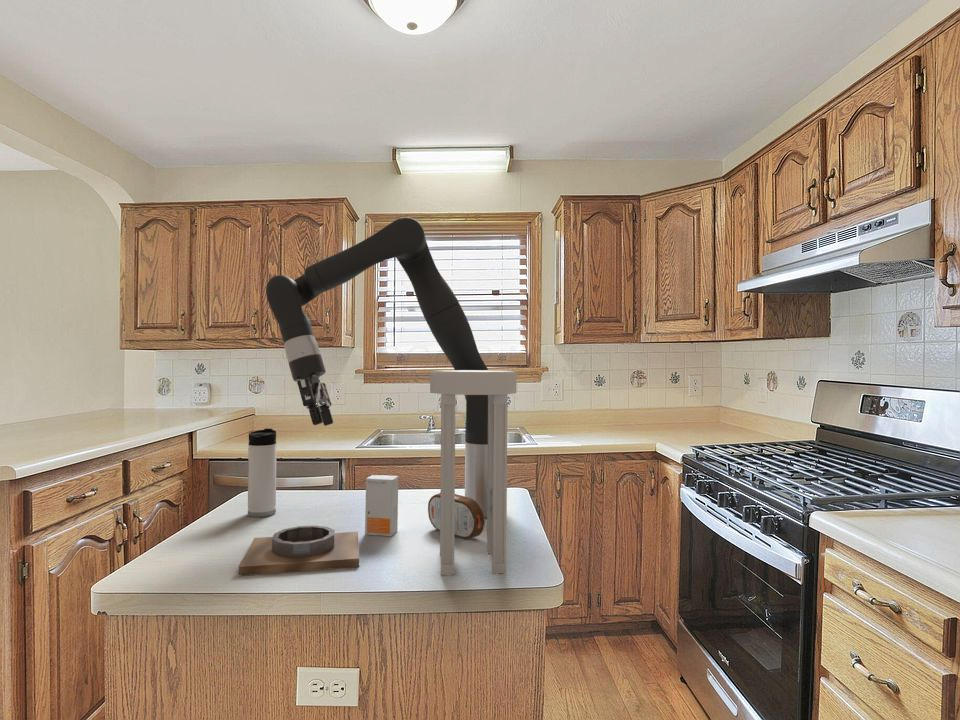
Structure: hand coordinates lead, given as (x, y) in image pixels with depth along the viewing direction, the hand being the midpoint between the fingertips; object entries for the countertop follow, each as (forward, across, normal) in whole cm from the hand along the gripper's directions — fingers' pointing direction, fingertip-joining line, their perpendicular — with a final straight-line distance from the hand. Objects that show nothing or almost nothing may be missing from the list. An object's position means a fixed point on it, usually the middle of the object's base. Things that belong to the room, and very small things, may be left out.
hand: (323, 424), depth 128 cm
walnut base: (+24, -21, +5) cm, 32 cm away
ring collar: (+23, -21, +4) cm, 31 cm away
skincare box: (+27, -7, -7) cm, 28 cm away
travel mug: (+15, +7, +22) cm, 28 cm away
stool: (+35, -24, -25) cm, 49 cm away
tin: (+32, -7, -22) cm, 39 cm away
